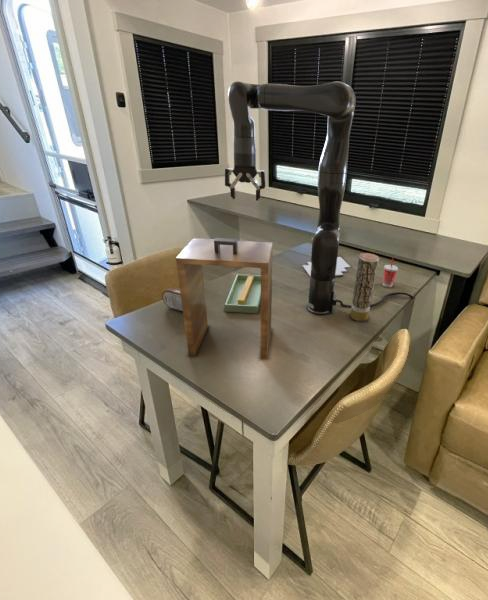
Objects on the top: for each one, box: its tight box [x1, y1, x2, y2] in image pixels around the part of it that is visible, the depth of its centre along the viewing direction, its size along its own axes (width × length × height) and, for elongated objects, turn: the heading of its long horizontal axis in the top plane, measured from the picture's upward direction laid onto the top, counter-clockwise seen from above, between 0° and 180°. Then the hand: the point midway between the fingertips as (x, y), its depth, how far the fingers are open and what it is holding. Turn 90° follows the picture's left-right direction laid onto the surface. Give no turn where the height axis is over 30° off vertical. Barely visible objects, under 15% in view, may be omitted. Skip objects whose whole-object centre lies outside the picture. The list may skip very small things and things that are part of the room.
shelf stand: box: [175, 237, 274, 360], centre depth 100 cm, size 24×16×36 cm, turn 91°
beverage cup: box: [382, 256, 399, 288], centre depth 150 cm, size 6×6×14 cm
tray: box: [224, 273, 261, 314], centre depth 136 cm, size 27×12×3 cm, turn 1°
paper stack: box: [302, 256, 351, 277], centre depth 167 cm, size 23×25×1 cm
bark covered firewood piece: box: [349, 252, 380, 322], centre depth 121 cm, size 7×7×25 cm
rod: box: [238, 276, 254, 305], centre depth 137 cm, size 2×22×2 cm, turn 178°
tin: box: [161, 286, 183, 313], centre depth 121 cm, size 15×3×8 cm, turn 71°
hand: (245, 199), depth 121 cm, fingers open, 8 cm apart
